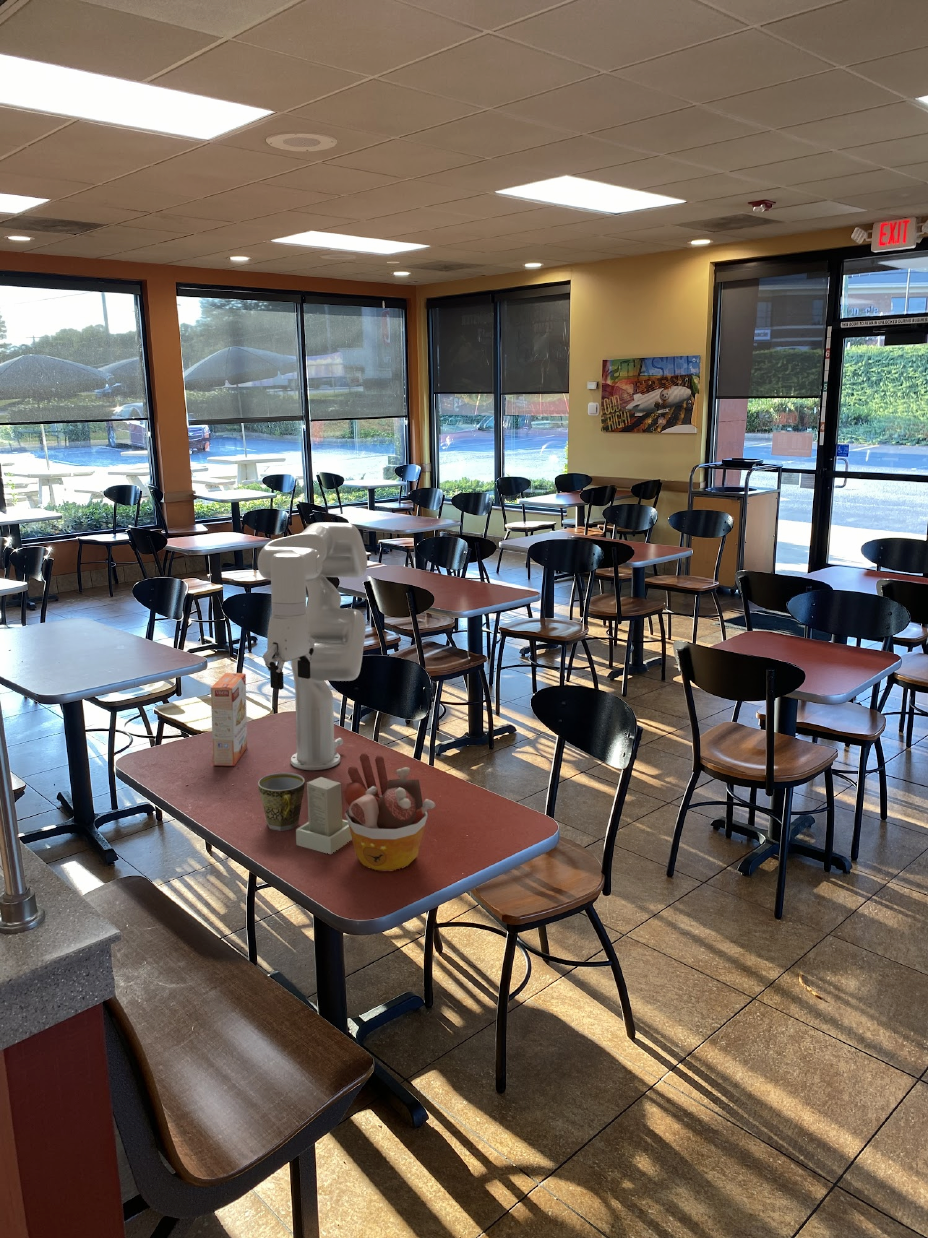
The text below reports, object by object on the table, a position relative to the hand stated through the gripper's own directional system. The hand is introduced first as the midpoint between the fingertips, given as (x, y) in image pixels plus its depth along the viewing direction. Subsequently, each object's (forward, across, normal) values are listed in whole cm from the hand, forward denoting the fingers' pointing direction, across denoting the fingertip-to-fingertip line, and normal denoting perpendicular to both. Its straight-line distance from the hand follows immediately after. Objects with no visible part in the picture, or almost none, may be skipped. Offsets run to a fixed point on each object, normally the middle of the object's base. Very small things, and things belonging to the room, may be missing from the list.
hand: (290, 683), depth 208 cm
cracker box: (+28, -14, -31) cm, 44 cm away
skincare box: (+28, +14, +19) cm, 36 cm away
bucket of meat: (+28, +14, +34) cm, 46 cm away
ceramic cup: (+28, +12, +7) cm, 32 cm away
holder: (+28, +14, +19) cm, 37 cm away
